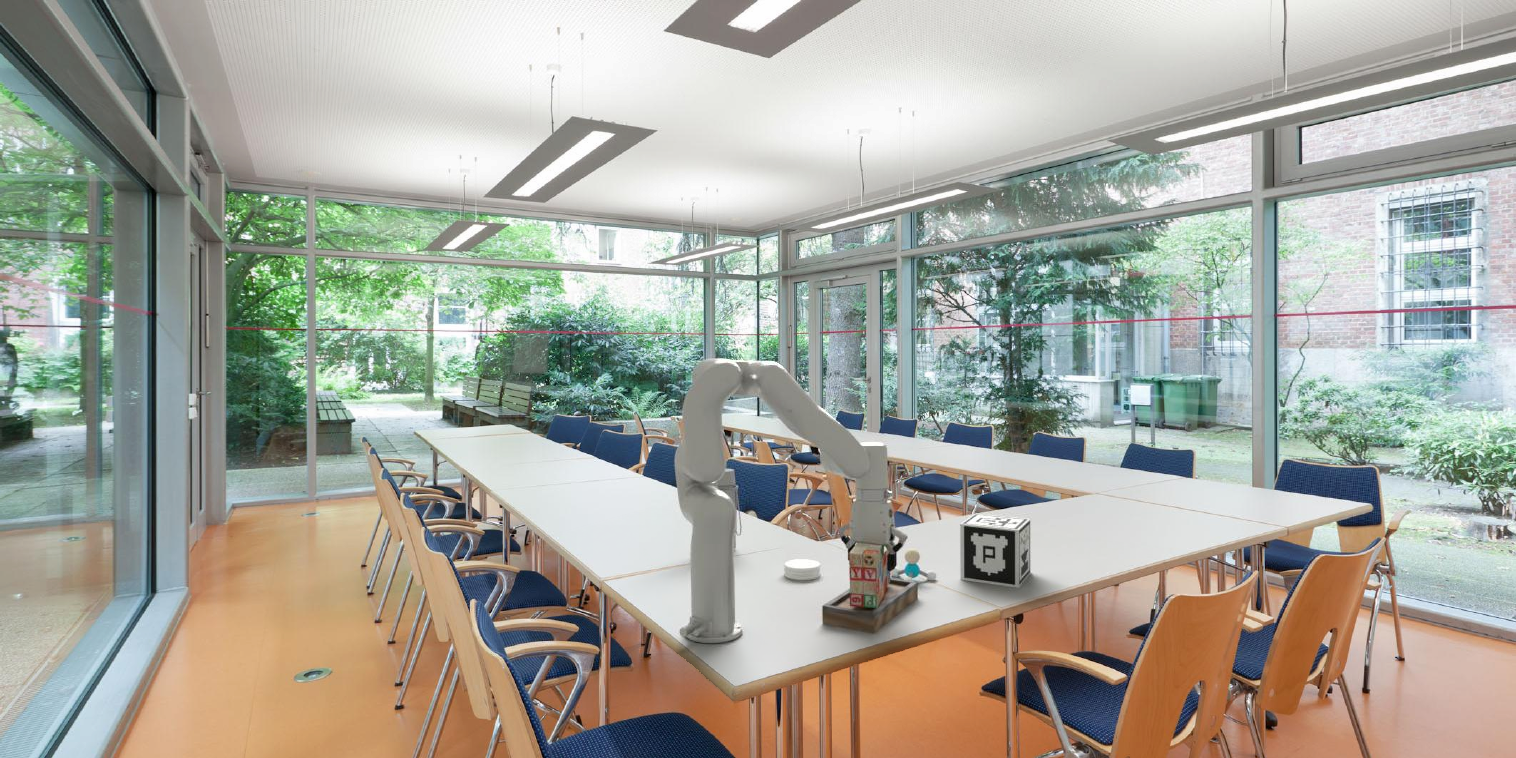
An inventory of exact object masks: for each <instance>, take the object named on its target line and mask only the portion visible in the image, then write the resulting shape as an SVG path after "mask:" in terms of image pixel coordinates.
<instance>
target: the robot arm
mask: <svg viewBox="0 0 1516 758" xmlns="http://www.w3.org/2000/svg"><path fill="white" fill-rule="evenodd" d="M691 380H692V384H691V385H690V387H689V388H688V390H687V392H686V395H685V397H684V400H683V404H682V410H681V413H682V416H681V417H682V418H681V419H682V420H681V421H682V434H683V440H682V441H681V442H680V443H679V445H678V446H677V448H676V450H675V454H674V462H673V463H674V472H675V480H676V481H675V482H676V489H677V491H676V492H677V497H678V504H679V508H680V512H681V514H682V516H683V518H684V519H686V521H688V522H689V523H690V524H691V525H692V531H691V538H690V539H691V540H690V553H689V554H690V555H689V556H690V596H691V597H690V600H691V601H690V603H691V604H690V605H691V613H690V614H691V616H689V622H688V624H687V625H684V626H683V627H680V629H679V632H678V633H679V635H680V636H681V637H682V638H685V637H686V638H687V639H689V640H691V641H693V642H696V643H697V642H698V643H703V644H718V643H719V644H720V643H727V642H730V641H733V640H736V639H737V638H740V636H741V635H742V634H743V625H742V624H741V623H740V622H738V621H736V598H735V597H736V595H735V593H736V591H735V590H736V586H735V585H736V583H735V576H736V575H735V572H736V571H735V570H736V569H735V550H734V539H735V530H736V522H737V521H738V518H737V517H738V515H737V514H738V512H737V513H736V504H735V505H734V503H733V501H732V499H731V498H730V497H729V496H728V495H727V494H726V493H724V492H723V491H721V490H719V489H718V485H717V481H718V480H720V479H721V478H722V476H723V475H724V473H725V470H726V469H727V457H726V450H725V449H726V448H725V440H724V433H723V432H724V431H723V419H722V418H723V410H724V407H725V404H726V403H727V401H728V400H729V399H730V398H731V397H735V398H736V397H737V398H738V397H740V398H741V397H744V398H745V397H747V398H749V397H750V398H759V399H760V400H761V401H762V402H763V403H764V404H765V405H766V407H768V408H769V410H771V411H772V412H773V414H775V416H777V418H778V419H779V420H780V421H781V422H782V423H783V425H784V426H786V428H787V429H789V431H790V432H792V433H793V434H794V435H797V436H798V437H800V438H801V439H803V440H805V441H807V442H809V443H811V444H812V445H814V446H815V447H816V448H818V449H819V450H820V454H819V455H820V456H819V461H820V464H821V466H822V467H823V469H824V470H825V471H826V472H829V473H830V474H833V475H836V476H839V477H842V478H845V479H848V480H855V481H854V482H855V483H854V484H855V486H854V487H855V488H854V489H855V493H854V495H855V498H853V500H852V503H851V504H852V505H851V510H850V517H849V522H848V523H846V524H844V525H842V526H840V527H837V533H838V535H839V537H840V540H841V542H843V544H844V545H845V548H846V549H847V560H848V562H849V553H850V551H851V550H852V549H853V548H854V546H855V545H856V544H857V542H861V543H869V544H876V545H884V546H885V547H886V549H887V550H888V551H889V554H888V555H887V570H888V571H892V570H893V569H895V567H897V565H898V562H897V560H898V559H897V557H898V556H897V554H898V552H899V551H900V550H901V549H902V548H903V547H904V546H905V543H906V541H907V540H908V534H906V533H904V532H902V531H901V530H900V529H898V528H897V527H896V524H895V522H896V521H895V514H894V508H893V503H892V501H891V500H889V499H890V498H891V499H892V498H893V497H894V492H893V491H890V490H889V487H888V484H889V483H888V448H887V445H886V444H885V443H883V442H879V441H863V442H859V441H858V439H856V437H855V436H854V435H853V434H852V433H851V432H850V430H848V429H847V428H846V427H845V426H844V425H843V424H841V423H840V422H839V421H838V420H836V418H834V417H833V416H832V415H830V414H829V413H828V412H827V411H826V410H825V409H824V408H822V407H821V406H820V405H819V404H817V403H816V401H815V400H813V398H812V397H811V396H810V394H808V393H807V392H806V390H804V389H803V387H802V386H801V385H800V384H799V382H798V381H797V380H796V379H795V378H794V377H793V376H792V375H791V374H790V372H788V371H787V370H786V368H785V367H784V366H782V365H781V364H780V363H778V362H776V361H773V360H734V359H733V360H732V359H728V358H706V359H703V360H701V361H700V362H697V364H696V365H695V366H694V369H693V370H692V374H691ZM737 523H738V522H737ZM848 530H849V535H847V532H846V531H848ZM896 538H898V542H897V543H895V542H894V541H895V540H896ZM848 565H849V566H850V564H849V563H848Z"/></svg>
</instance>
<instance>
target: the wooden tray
mask: <svg viewBox="0 0 1516 758" xmlns="http://www.w3.org/2000/svg"><path fill="white" fill-rule="evenodd" d="M918 583H919V582H918V581H914V582H913V581H907V580H904V579H900V578H895V577H894V578H892V577H891V580H890V583H889V585H888V587H887V588H886V590H885V593H884V596H883V598H882V600H881V602H880V604H879V605H878V607H877V608H867V607H854V606H850V588H848V589H847V590H845V591H844V592H842V593H840V594H839V595H837V596H835V597H834V598H833V599H830V600H829V601H828V602H826V603H825V604H823V605H822V606H821V608H822V609H821V612H822V619H821V620H822V624H823V625H830V626H834V627H840V628H844V629H850V630H854V631H860V632H864V633H870V634H875V633H876V632H877V631H879V630H880V629H882V628H883V627H884V626H885V625H886V624H887V623H889V622H890V621H891V620H893V619H894V617H896V616H897V615H899V614H900V613H901V612H902V611H904V609H906V608H907V607H909V606H910V605H911V604H912V603H914V602H915V601H916V600H917V599H918V597H919V594H918V593H919V592H918V588H919V586H918V585H919V584H918Z"/></svg>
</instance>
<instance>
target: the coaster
mask: <svg viewBox="0 0 1516 758" xmlns="http://www.w3.org/2000/svg"><path fill="white" fill-rule="evenodd" d="M783 567H784V570H783V571H784V573H783V575H784V577H786V578H787V579H789V580H794V581H812V579H813V580H816V579H818V578H820V577H821V563H820V562H819V561H816V560H813V559H806V558H798V559H790V560H788V561H786V562H784V565H783Z"/></svg>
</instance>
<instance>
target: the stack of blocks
mask: <svg viewBox="0 0 1516 758" xmlns="http://www.w3.org/2000/svg"><path fill="white" fill-rule="evenodd" d="M888 554H889V551H888V550H887V549H886V547H885V546H884V545H876V544H869V543H861V542H857V543H856V544H855V546H854V548H853V549H852V550H851V551H850V553H849V561H848V565H849V564H850V565H849V567H848V568H849V571H848V572H849V589H850V606H854V607H867V608H877V607H878V605H879V604H880V602H881V600H882V598H883V596H884V593H885V590H886V588H887V587H888V585H889V583H890V580H891V578H892V576H891V573H890V571H888V570H887V555H888Z"/></svg>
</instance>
